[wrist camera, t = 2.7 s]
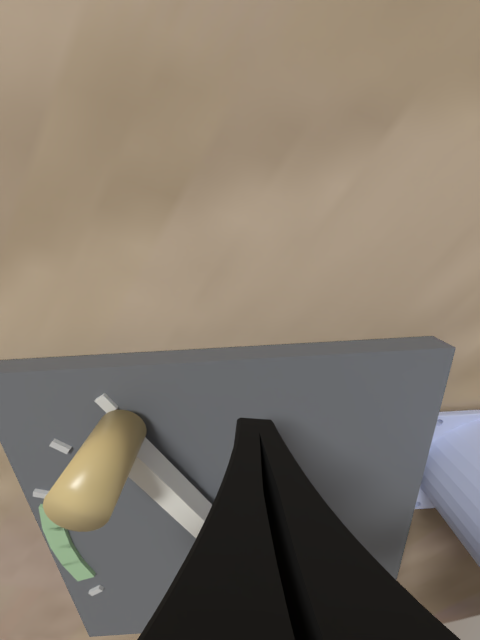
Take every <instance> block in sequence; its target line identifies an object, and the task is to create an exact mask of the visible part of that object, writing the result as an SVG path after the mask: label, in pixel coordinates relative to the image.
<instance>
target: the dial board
mask: <svg viewBox="0 0 480 640" xmlns="http://www.w3.org/2000/svg"><path fill="white" fill-rule="evenodd" d="M454 352H455V347H453V346H451V345H450V344H448V343H446V342H444V341H442V340H440V339H438V338H436V337H434V336H425V337H407V338H389V339H371V340H354V341H336V342H318V343H300V344H282V345H264V346H246V347H228V348H210V349H192V350H174V351H156V352H138V353H120V354H102V355H84V356H66V357H48V358H30V359H12V360H0V442H1V444H2V446H3V449H4V451H5V453H6V455H7V457H8V460H9V462H10V464H11V466H12V468H13V470H14V473H15V475H16V477H17V479H18V481H19V484H20V486H21V488H22V490H23V492H24V495H25V497H26V499H27V501H28V503H29V505H30V508H31V510H32V512H33V514H34V516H35V519H36V521H37V523H38V525H39V527H40V530H41V532H42V534H43V536H44V538H45V540H46V543H47V545H48V547H49V549H50V551H51V554H52V556H53V558H54V560H55V562H56V565H57V567H58V569H59V571H60V573H61V575H62V578H63V580H64V582H65V584H66V586H67V589H68V591H69V593H70V595H71V597H72V600H73V602H74V604H75V606H76V608H77V610H78V613H79V615H80V617H81V619H82V621H83V624H84V626H85V628H86V630H87V632H88V635H89V637H93V636H108V635H122V634H137V633H142V632H143V630H144V628H145V627H146V625H147V623H148V622H149V620H150V619H151V617H152V615H153V614H154V612H155V611H156V609H157V607H158V606H159V604H160V602H161V601H162V599H163V597H164V596H165V594H166V592H167V591H168V589H169V587H170V585H171V584H172V582H173V580H174V578H175V576H176V575H177V573H178V571H179V569H180V568H181V566H182V564H183V562H184V560H185V559H186V557H187V555H188V553H189V551H190V549H191V548H192V546H193V544H194V542H195V540H196V538H195V537H194V536H193V535H192V534H191V533H189V532H188V531H187V530H186V529H185V528H184V527H183V526H182V525H181V524H180V523H179V522H177V521H176V520H175V519H174V518H173V517H172V516H171V515H170V514H169V513H168V512H166V511H165V510H164V509H163V508H162V507H161V506H160V505H159V504H158V503H157V502H156V501H154V500H153V499H152V498H151V497H150V496H149V495H148V494H147V493H146V492H145V491H144V490H142V489H141V488H140V487H139V486H138V485H137V484H136V483H135V482H134V481H133V480H131V479H130V478H129V477H128V478H127V480H126V482H125V485H124V487H123V489H122V492H121V494H120V496H119V499H118V501H117V503H116V506H115V508H114V510H113V512H112V515H111V517H110V519H109V521H108V522H107V523H106V524H105V525H104V526H103V527H101V528H99V529H96V530H93V531H87V532H78V531H72V530H68V529H65V528H62V527H60V526H58V525H56V524H55V523H53V522H52V521H51V520H50V519H49V518H48V517H47V515H46V514H45V512H44V509H43V501H44V498H45V496H46V495H47V494H48V492H49V491H50V489H51V488H52V487H53V485H54V484H55V482H56V481H57V480H58V478H59V477H60V475H61V474H62V473H63V471H64V470H65V468H66V467H67V466H68V464H69V463H70V461H71V460H72V459H73V457H74V456H75V454H76V453H77V452H78V450H79V449H80V447H81V446H82V445H83V443H84V442H85V440H86V439H87V438H88V436H89V435H90V433H91V432H92V431H93V429H94V428H95V426H96V425H97V424H98V422H99V421H100V419H101V418H102V417H103V416H104V415H105V414H106V413H108V412H110V411H113V410H127V411H130V412H133V413H135V414H137V415H138V416H139V417H140V418H141V419H142V420H143V421H144V423H145V425H146V429H147V432H146V436H145V437H146V438H147V439H148V440H149V441H150V442H151V443H152V444H153V445H154V446H155V447H156V448H157V449H158V450H159V451H160V452H161V453H162V454H163V455H164V456H165V458H166V459H167V460H168V461H169V462H170V463H171V464H172V465H173V466H174V467H175V468H176V469H177V470H178V471H179V472H180V473H181V474H182V475H183V476H184V477H185V478H186V479H187V480H188V481H189V482H190V483H191V484H192V485H193V486H194V487H195V488H196V489H197V490H198V491H199V492H200V493H201V494H202V495H203V496H204V497H205V498H206V499H207V500H208V501H209V502H210V503H211V504H213V502H214V500H215V497H216V495H217V493H218V490H219V488H220V485H221V483H222V480H223V477H224V475H225V472H226V469H227V466H228V463H229V460H230V457H231V453H232V450H233V447H234V439H235V431H236V423H237V419H239V418H255V419H270V420H272V421H273V423H274V425H275V426H276V428H277V430H278V432H279V434H280V435H281V437H282V439H283V440H284V442H285V444H286V445H287V447H288V449H289V450H290V452H291V454H292V455H293V457H294V458H295V460H296V461H297V463H298V464H299V466H300V467H301V469H302V470H303V472H304V473H305V475H306V476H307V478H308V479H309V480H310V482H311V483H312V485H313V486H314V487H315V489H316V490H317V491H318V493H319V494H320V495H321V497H322V498H323V499H324V501H325V502H326V503H327V504H328V506H329V507H330V508H331V509H332V511H333V512H334V513H335V514H336V515H337V517H338V518H339V519H340V520H341V522H342V523H343V524H344V525H345V526H346V527H347V528H348V530H349V531H350V532H351V533H352V534H353V535H354V536H355V538H356V539H357V540H358V541H359V542H360V543H361V544H362V545H363V546H364V547H365V548H366V549H367V551H368V552H369V553H370V554H371V555H372V556H373V557H374V558H375V559H376V560H377V561H378V562H379V563H380V564H381V565H382V566H383V567H384V568H385V569H386V570H387V571H388V572H389V574H390V575H391V576H392V577H393V578H394V579H395V580H396V579H397V575H398V572H399V568H400V564H401V560H402V556H403V552H404V548H405V544H406V540H407V536H408V532H409V528H410V525H411V521H412V517H413V513H414V509H415V505H416V501H417V497H418V493H419V489H420V485H421V482H422V478H423V474H424V470H425V466H426V462H427V458H428V454H429V450H430V446H431V442H432V438H433V435H434V431H435V427H436V423H437V419H438V415H439V411H440V407H441V403H442V399H443V395H444V392H445V388H446V384H447V380H448V376H449V372H450V368H451V364H452V360H453V356H454Z"/></svg>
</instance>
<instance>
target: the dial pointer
mask: <svg viewBox="0 0 480 640" xmlns="http://www.w3.org/2000/svg"><path fill="white" fill-rule="evenodd" d="M146 432H147V429H146V425H145V423H144V421H143V420H142V419H141V418H140V417H139V416H138V415H137V414H135V413H133V412H130V411H127V410H113V411H110V412H108V413H106V414H105V415H104V416H103V417H102V418H101V419H100V421H99V422H98V424H97V425H96V426H95V428H94V429H93V431H92V432H91V433H90V435H89V436H88V438H87V439H86V440H85V442H84V443H83V445H82V446H81V447H80V449H79V450H78V452H77V453H76V454H75V456H74V457H73V459H72V460H71V461H70V463H69V464H68V466H67V467H66V468H65V470H64V471H63V473H62V474H61V475H60V477H59V478H58V480H57V481H56V482H55V484H54V485H53V487H52V488H51V489H50V491H49V492H48V494H47V495H46V496H45V498H44V501H43V509H44V512H45V514H46V515H47V517H48V518H49V519H50V520H51V521H52V522H53V523H55V524H56V525H58V526H60V527H62V528H65V529H68V530H72V531H78V532H87V531H93V530H96V529H99V528H101V527H103V526H104V525H105V524H106V523H107V522H108V521H109V519H110V517H111V515H112V512H113V510H114V508H115V506H116V503H117V501H118V499H119V496H120V494H121V492H122V489H123V487H124V485H125V482H126V480H127V478H128V477H129V478H130V479H131V480H133V481H134V482H135V483H136V484H137V485H138V486H139V487H140V488H141V489H142V490H144V491H145V492H146V493H147V494H148V495H149V496H150V497H151V498H152V499H153V500H154V501H156V502H157V503H158V504H159V505H160V506H161V507H162V508H163V509H164V510H165V511H166V512H168V513H169V514H170V515H171V516H172V517H173V518H174V519H175V520H176V521H177V522H179V523H180V524H181V525H182V526H183V527H184V528H185V529H186V530H187V531H188V532H189V533H191V534H192V535H193V536H194V537H195V538H197V536H198V534H199V532H200V530H201V528H202V526H203V524H204V522H205V520H206V517H207V515H208V513H209V511H210V509H211V507H212V504H211V503H210V502H209V501H208V500H207V499H206V498H205V497H204V496H203V495H202V494H201V493H200V492H199V491H198V490H197V489H196V488H195V487H194V486H193V485H192V484H191V483H190V482H189V481H188V480H187V479H186V478H185V477H184V476H183V475H182V474H181V473H180V472H179V471H178V470H177V469H176V468H175V467H174V466H173V465H172V464H171V463H170V462H169V461H168V460H167V459H166V458H165V456H164V455H163V454H162V453H161V452H160V451H159V450H158V449H157V448H156V447H155V446H154V445H153V444H152V443H151V442H150V441H149V440H148V439H147V438H146V437H145V436H146Z"/></svg>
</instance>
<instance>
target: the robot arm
mask: <svg viewBox="0 0 480 640" xmlns="http://www.w3.org/2000/svg"><path fill="white" fill-rule="evenodd" d="M425 508H436V509H437V511H438V512H439V513H440V515H441V516H442V517H443V519H444V520H445V521H446V523H447V524H448V525H449V527H450V528H451V529H452V531H453V532H454V533H455V535H456V536H457V538H458V539H459V540H460V542H461V543H462V544H463V546H464V547H465V548H466V550H467V551H468V552H469V554H470V555H471V556H472V558H473V559H474V560H475V562H476V563H477V564H478V566H479V567H480V410H466V411H449V412H439V415H438V419H437V423H436V427H435V431H434V435H433V438H432V442H431V446H430V450H429V454H428V458H427V462H426V466H425V470H424V474H423V478H422V482H421V485H420V489H419V493H418V497H417V501H416V505H415V509H425ZM138 640H460V639H459V638H458V637H457V636H456V635H455V634H453V633H452V632H451V631H450V630H449V629H448V628H446V626H444V625H443V624H442V623H441V622H440V621H439V620H438V619H437V618H435V617H434V616H433V615H432V614H431V613H430V612H429V611H428V610H427V609H426V608H424V607H423V606H422V605H421V604H420V603H419V602H418V601H417V600H416V599H415V598H414V597H413V596H412V595H411V594H410V593H409V592H408V591H407V590H406V589H405V588H404V587H403V586H402V585H400V584H399V583H398V582H397V581H396V580H395V579H394V578H393V577H392V576H391V575H390V574H389V572H388V571H387V570H386V569H385V568H384V567H383V566H382V565H381V564H380V563H379V562H378V561H377V560H376V559H375V558H374V557H373V556H372V555H371V554H370V553H369V552H368V551H367V549H366V548H365V547H364V546H363V545H362V544H361V543H360V542H359V541H358V540H357V539H356V538H355V536H354V535H353V534H352V533H351V532H350V531H349V530H348V528H347V527H346V526H345V525H344V524H343V523H342V522H341V520H340V519H339V518H338V517H337V515H336V514H335V513H334V512H333V511H332V509H331V508H330V507H329V506H328V504H327V503H326V502H325V501H324V499H323V498H322V497H321V495H320V494H319V493H318V491H317V490H316V489H315V487H314V486H313V485H312V483H311V482H310V480H309V479H308V478H307V476H306V475H305V473H304V472H303V470H302V469H301V467H300V466H299V464H298V463H297V461H296V460H295V458H294V457H293V455H292V454H291V452H290V450H289V449H288V447H287V445H286V444H285V442H284V440H283V439H282V437H281V435H280V434H279V432H278V430H277V428H276V426H275V425H274V423H273V421H272V420H270V419H255V418H239V419H237V423H236V431H235V439H234V447H233V450H232V453H231V457H230V460H229V463H228V466H227V469H226V472H225V475H224V477H223V480H222V483H221V485H220V488H219V490H218V493H217V495H216V497H215V500H214V502H213V504H212V507H211V509H210V511H209V513H208V515H207V517H206V520H205V522H204V524H203V526H202V528H201V530H200V532H199V534H198V536H197V538H196V540H195V542H194V544H193V546H192V548H191V549H190V551H189V553H188V555H187V557H186V559H185V560H184V562H183V564H182V566H181V568H180V569H179V571H178V573H177V575H176V576H175V578H174V580H173V582H172V584H171V585H170V587H169V589H168V591H167V592H166V594H165V596H164V597H163V599H162V601H161V602H160V604H159V606H158V607H157V609H156V611H155V612H154V614H153V615H152V617H151V619H150V620H149V622H148V623H147V625H146V627H145V628H144V630H143V632H142V633H141V635H140V636H139V638H138Z"/></svg>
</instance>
